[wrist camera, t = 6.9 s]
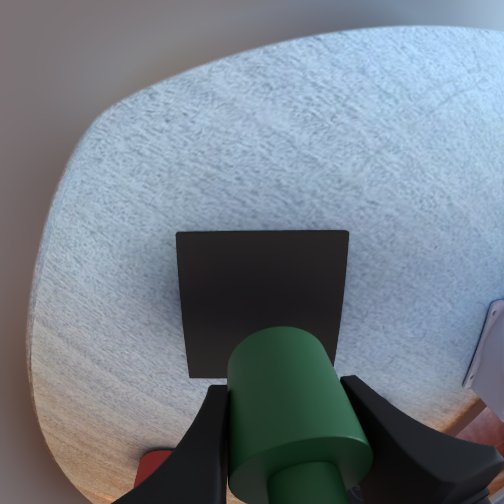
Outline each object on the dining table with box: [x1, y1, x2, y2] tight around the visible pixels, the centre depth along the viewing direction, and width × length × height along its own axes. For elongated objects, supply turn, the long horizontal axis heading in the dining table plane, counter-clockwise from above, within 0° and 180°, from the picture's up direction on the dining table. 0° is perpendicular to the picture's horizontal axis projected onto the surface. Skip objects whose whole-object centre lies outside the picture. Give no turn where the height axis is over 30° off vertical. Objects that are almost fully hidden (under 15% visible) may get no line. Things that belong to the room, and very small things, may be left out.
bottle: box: [227, 327, 374, 504], centre depth 9 cm, size 4×4×8 cm
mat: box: [176, 230, 349, 378], centre depth 19 cm, size 10×10×1 cm
